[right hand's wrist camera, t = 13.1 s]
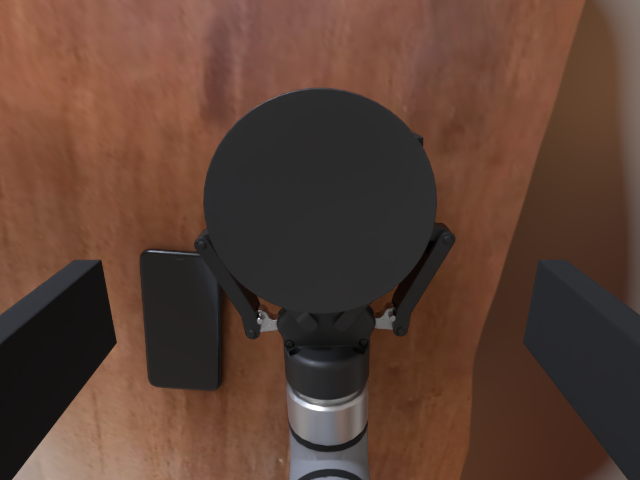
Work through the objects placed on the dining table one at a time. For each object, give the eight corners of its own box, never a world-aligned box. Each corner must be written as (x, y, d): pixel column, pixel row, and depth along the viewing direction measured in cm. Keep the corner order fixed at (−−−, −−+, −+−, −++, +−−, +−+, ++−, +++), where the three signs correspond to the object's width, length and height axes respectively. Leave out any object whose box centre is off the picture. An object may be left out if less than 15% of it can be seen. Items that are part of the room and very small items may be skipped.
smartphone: (223, 387, 48) (223, 252, 42) (221, 392, 47) (221, 255, 42) (150, 382, 48) (141, 246, 42) (147, 388, 47) (137, 249, 41)
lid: (346, 331, 26) (347, 349, 24) (173, 229, 24) (162, 240, 22) (473, 173, 23) (485, 180, 21) (286, 37, 20) (284, 33, 19)
